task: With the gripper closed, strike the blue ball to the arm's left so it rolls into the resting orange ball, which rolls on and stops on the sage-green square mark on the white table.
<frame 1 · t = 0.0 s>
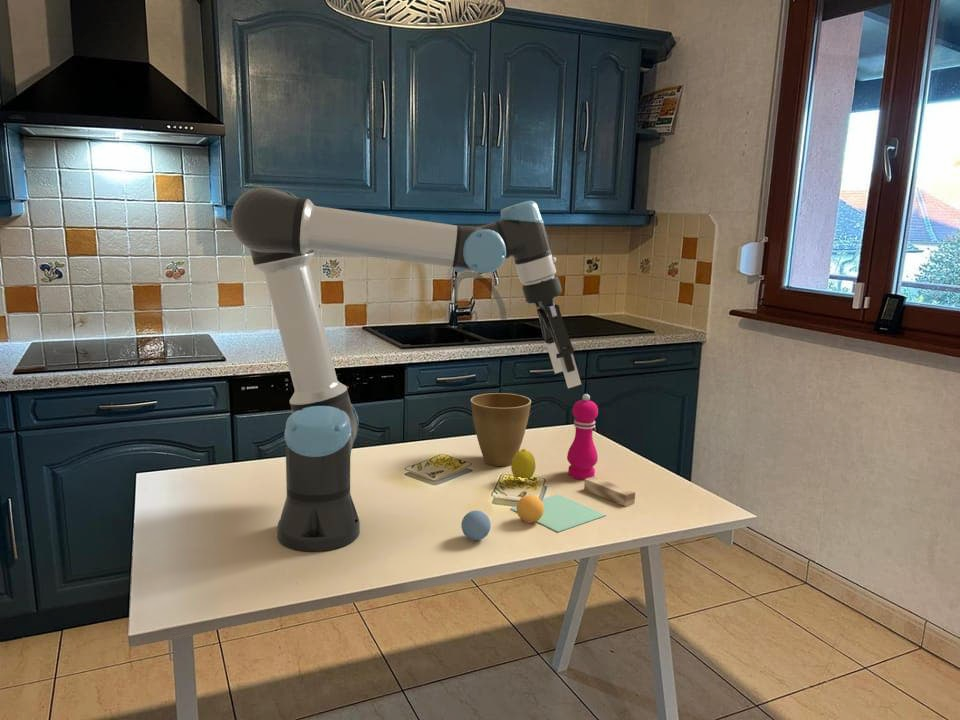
hand: (567, 378, 149), 28 cm above the table, tool tilted 20°, fingers open, 13 cm apart
blue ball: (475, 525, 137), on the table
lemon: (522, 482, 168), on the table
orange ball: (530, 508, 146), on the table
pepper mill: (581, 475, 174), on the table
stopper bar: (608, 496, 161), on the table
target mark: (557, 512, 151), on the table
plant pot: (498, 462, 182), on the table
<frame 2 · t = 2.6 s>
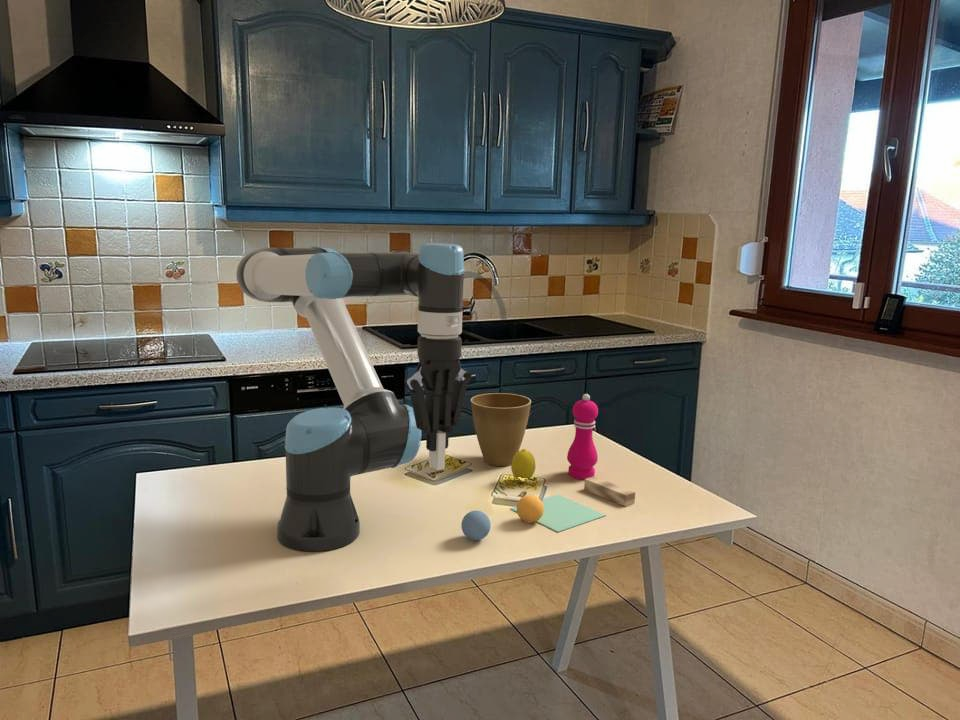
hand: (436, 466, 128), 16 cm above the table, tool pointing down, fingers closed
nothing on the table moved.
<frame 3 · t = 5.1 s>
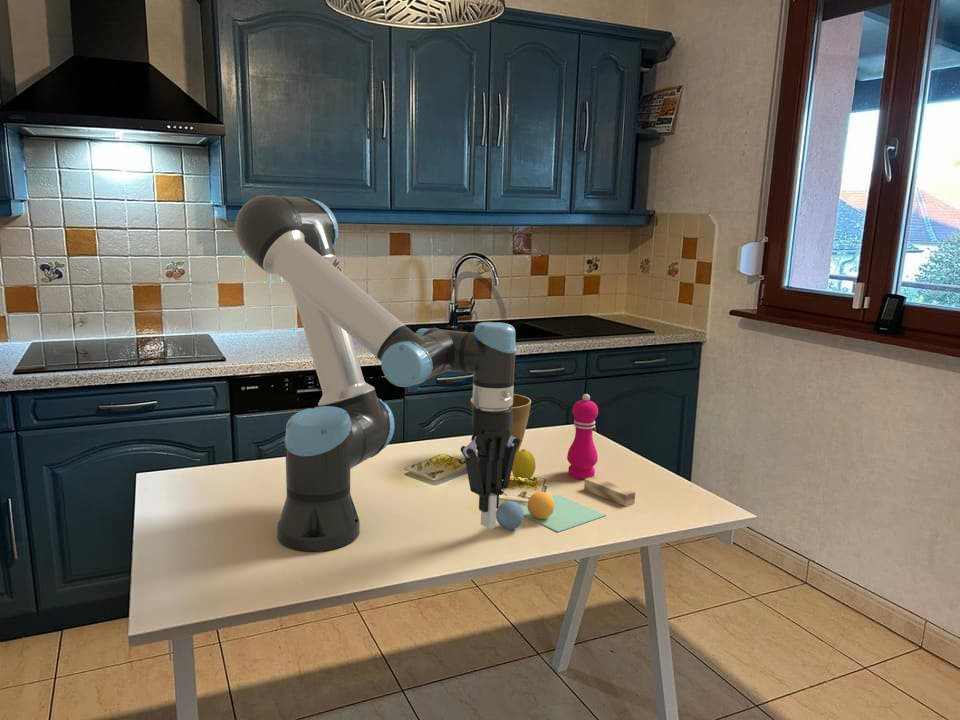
hand: (488, 525, 139), 2 cm above the table, tool pointing down, fingers closed
blue ball: (509, 515, 142), on the table
orange ball: (540, 505, 147), on the table
everything else where it was.
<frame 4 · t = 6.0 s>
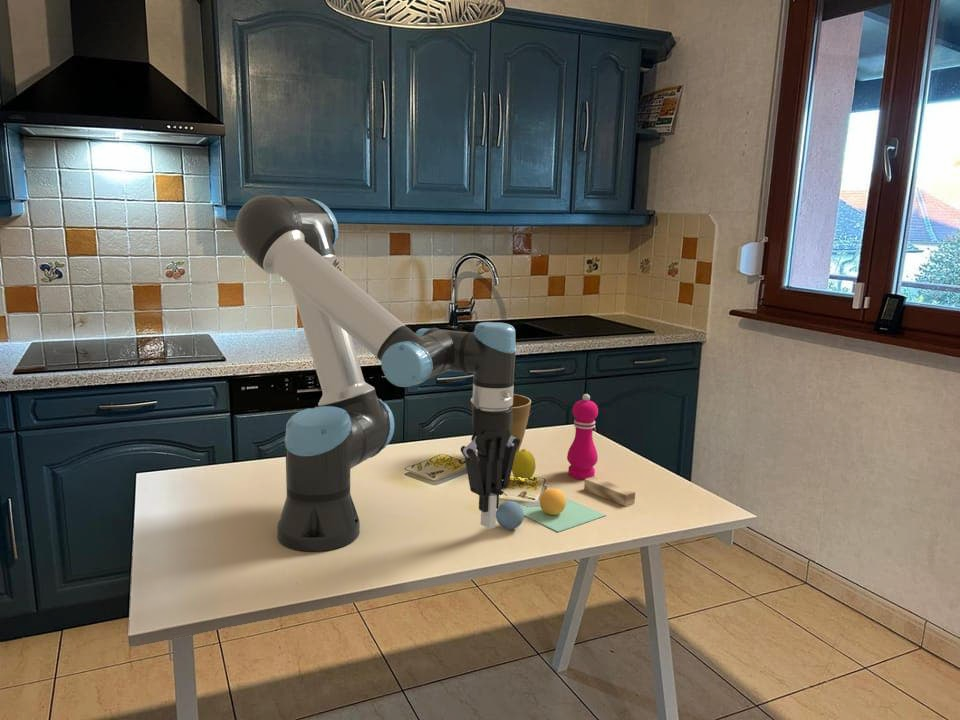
hand: (488, 525, 139), 2 cm above the table, tool pointing down, fingers closed
orange ball: (552, 501, 150), on the table
everything else where it was.
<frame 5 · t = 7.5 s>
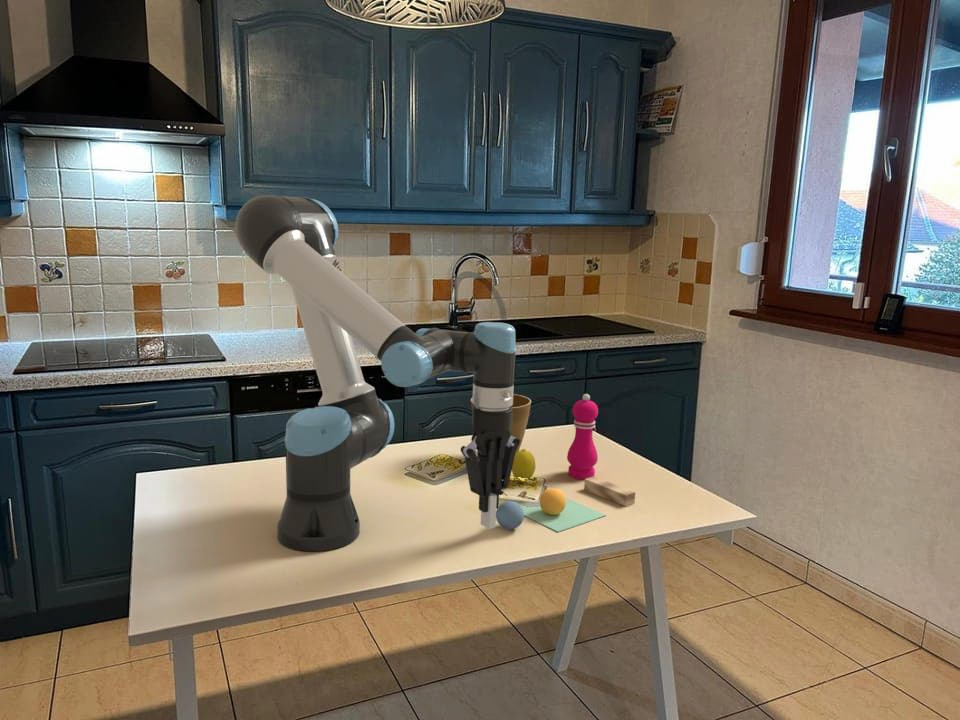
hand: (488, 525, 139), 2 cm above the table, tool pointing down, fingers closed
nothing on the table moved.
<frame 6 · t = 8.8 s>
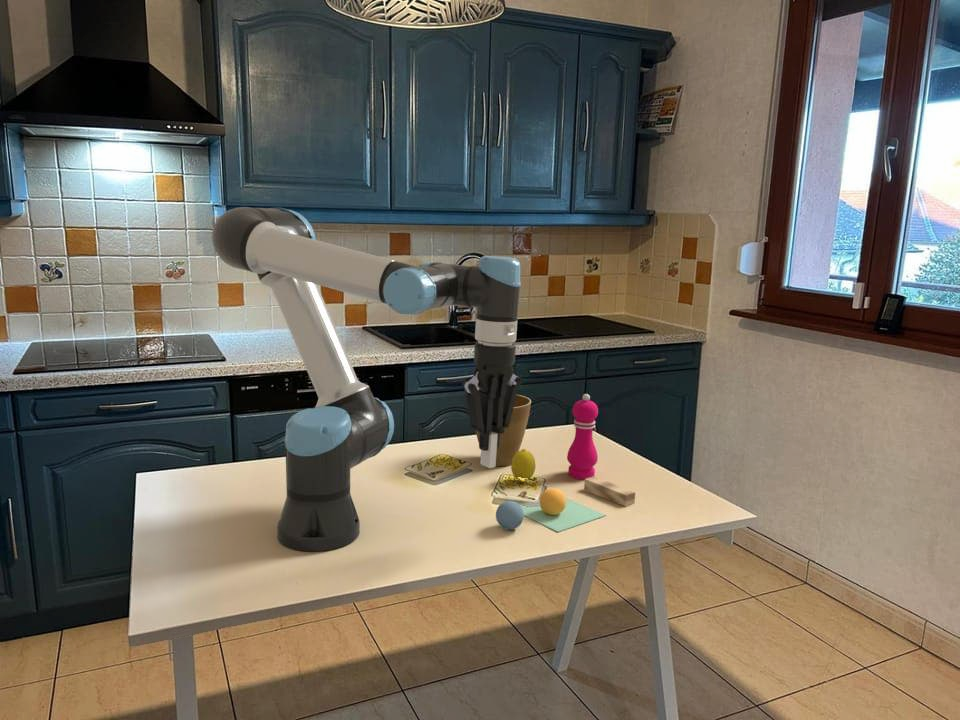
hand: (487, 465, 137), 14 cm above the table, tool pointing down, fingers closed
nothing on the table moved.
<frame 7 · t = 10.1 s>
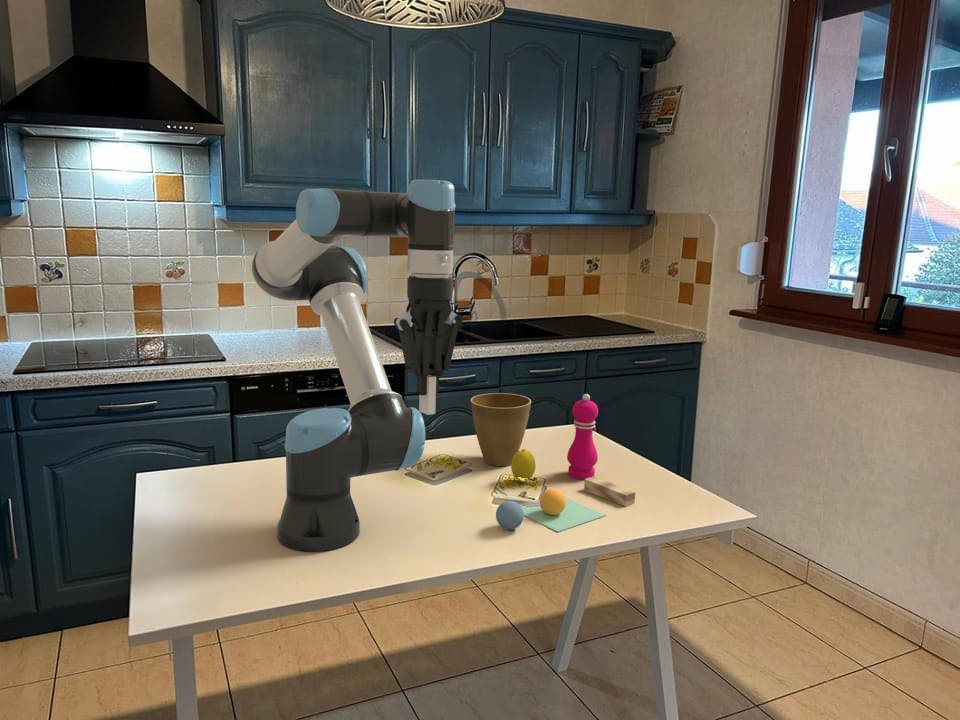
hand: (427, 412, 125), 26 cm above the table, tool pointing down, fingers closed
nothing on the table moved.
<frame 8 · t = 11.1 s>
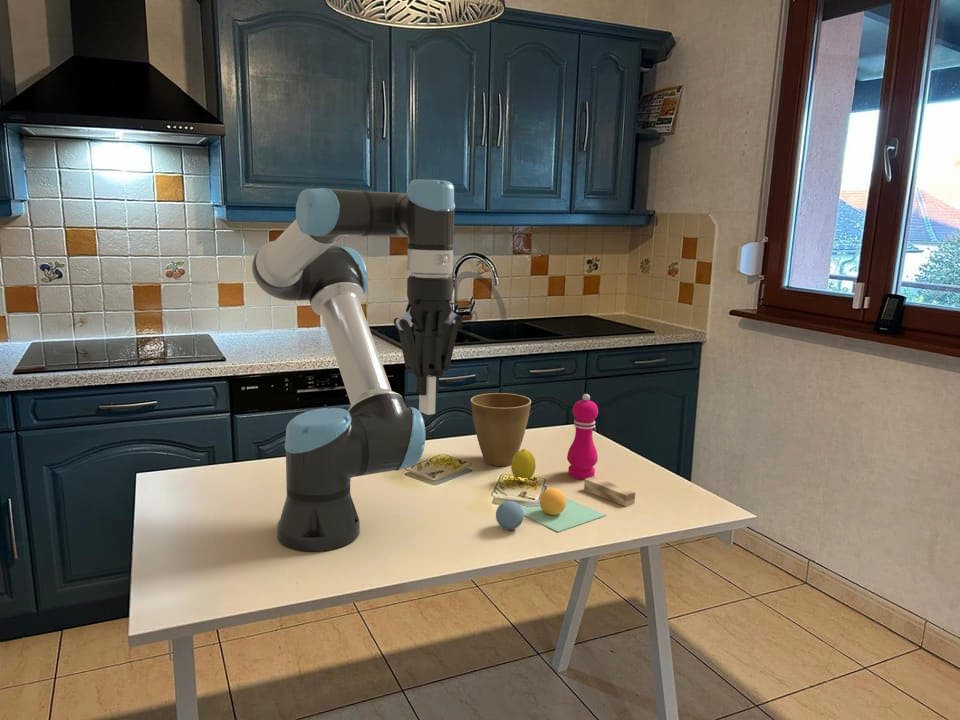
hand: (427, 412, 125), 26 cm above the table, tool pointing down, fingers closed
nothing on the table moved.
at the end: orange ball 1.6 cm from the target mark (horizontally); orange ball never touched the robot; blue ball first touched orange ball at 4.7 s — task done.
